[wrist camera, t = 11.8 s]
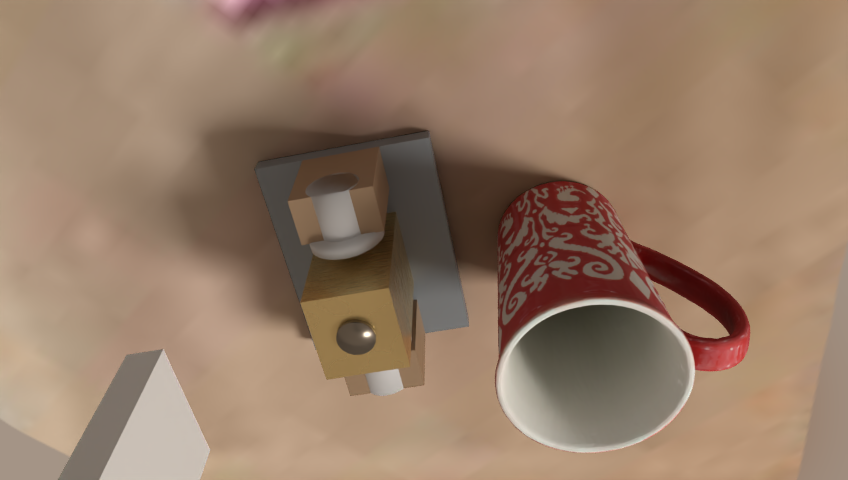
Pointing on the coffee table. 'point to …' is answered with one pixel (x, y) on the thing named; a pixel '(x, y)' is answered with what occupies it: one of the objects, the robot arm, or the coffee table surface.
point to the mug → (596, 325)
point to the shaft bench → (410, 217)
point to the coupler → (362, 308)
